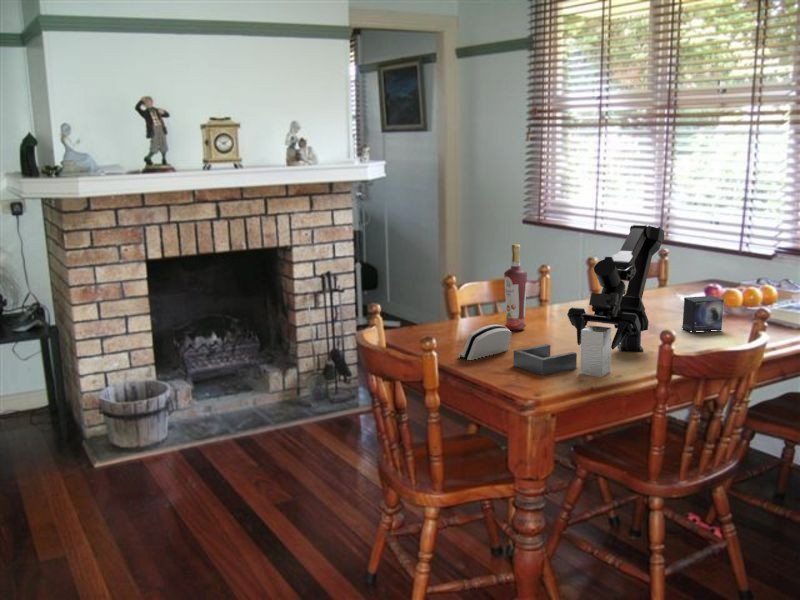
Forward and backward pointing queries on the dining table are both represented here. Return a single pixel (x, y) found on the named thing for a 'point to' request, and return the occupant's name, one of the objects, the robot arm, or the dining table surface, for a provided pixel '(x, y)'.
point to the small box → (702, 313)
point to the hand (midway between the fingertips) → (595, 346)
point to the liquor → (515, 292)
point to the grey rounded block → (486, 342)
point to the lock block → (595, 351)
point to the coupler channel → (543, 360)
